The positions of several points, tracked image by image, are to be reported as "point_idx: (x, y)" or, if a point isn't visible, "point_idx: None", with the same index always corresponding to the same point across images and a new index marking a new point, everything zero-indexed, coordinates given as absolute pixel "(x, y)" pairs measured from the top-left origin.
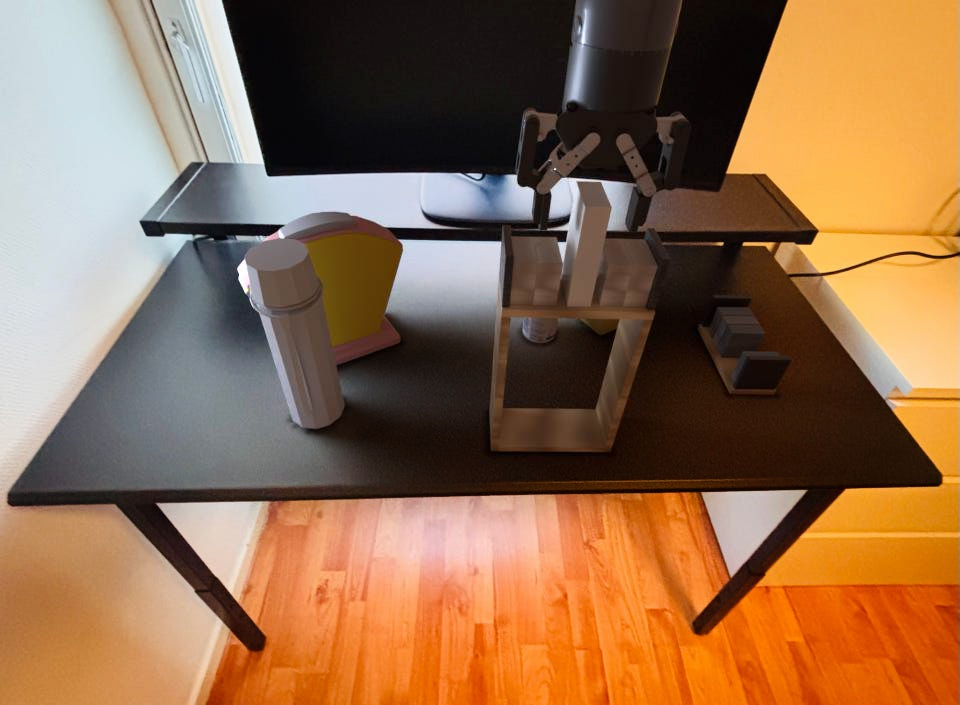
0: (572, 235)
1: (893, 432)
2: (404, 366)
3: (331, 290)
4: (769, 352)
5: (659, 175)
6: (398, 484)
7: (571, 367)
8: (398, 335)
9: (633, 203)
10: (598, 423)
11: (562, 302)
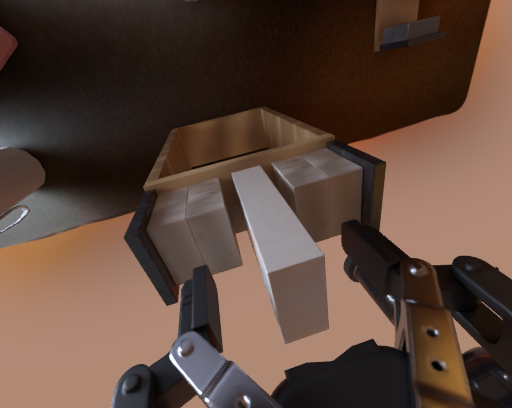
0: (254, 246)
1: (469, 71)
2: (55, 84)
3: None
4: (432, 18)
5: (452, 302)
6: (134, 209)
7: (234, 42)
8: (8, 38)
9: (369, 266)
10: (262, 124)
11: (239, 219)
